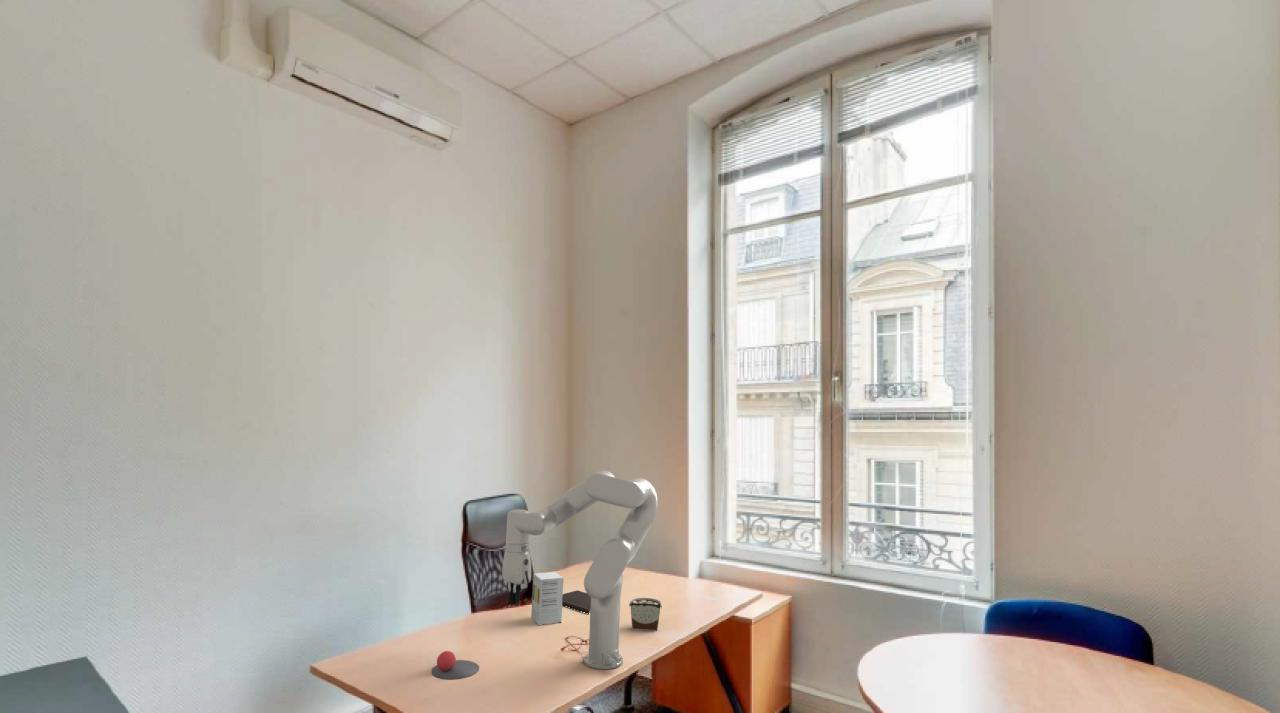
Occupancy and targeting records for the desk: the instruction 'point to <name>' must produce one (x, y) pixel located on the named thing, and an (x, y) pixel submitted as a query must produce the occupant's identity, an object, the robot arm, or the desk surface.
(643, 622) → the food container
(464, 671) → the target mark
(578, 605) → the hardcover book
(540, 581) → the supplement box
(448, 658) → the ball
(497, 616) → the desk surface
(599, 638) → the robot arm
